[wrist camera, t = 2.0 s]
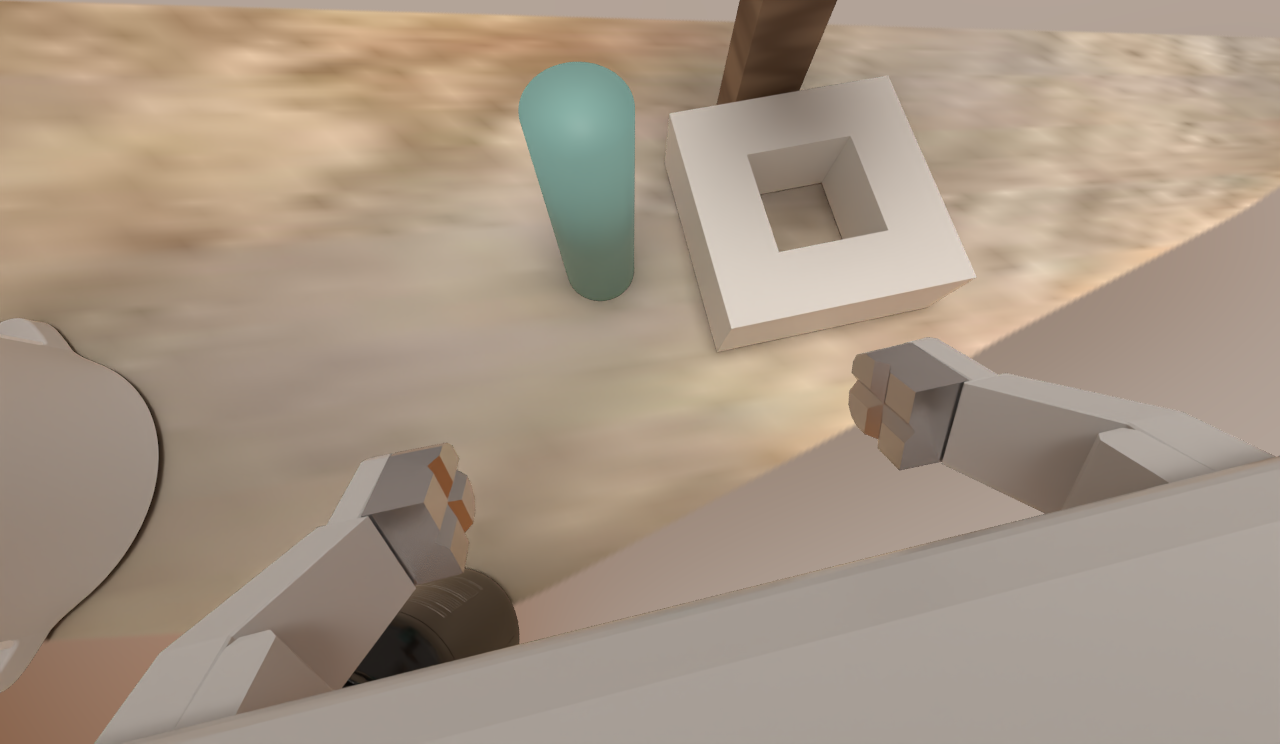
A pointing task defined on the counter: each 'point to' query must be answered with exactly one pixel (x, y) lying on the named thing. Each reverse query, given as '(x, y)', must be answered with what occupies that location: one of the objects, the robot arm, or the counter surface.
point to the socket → (858, 196)
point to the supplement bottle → (442, 627)
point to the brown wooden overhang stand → (772, 47)
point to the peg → (585, 170)
